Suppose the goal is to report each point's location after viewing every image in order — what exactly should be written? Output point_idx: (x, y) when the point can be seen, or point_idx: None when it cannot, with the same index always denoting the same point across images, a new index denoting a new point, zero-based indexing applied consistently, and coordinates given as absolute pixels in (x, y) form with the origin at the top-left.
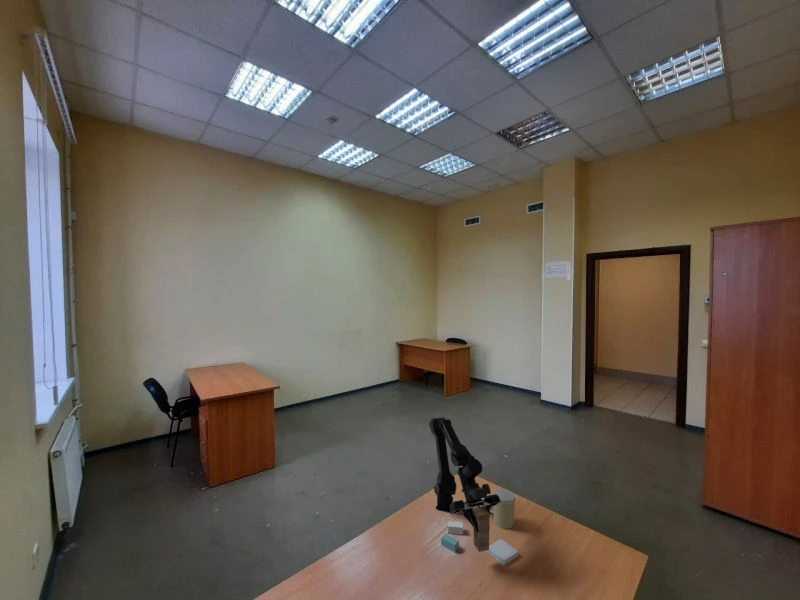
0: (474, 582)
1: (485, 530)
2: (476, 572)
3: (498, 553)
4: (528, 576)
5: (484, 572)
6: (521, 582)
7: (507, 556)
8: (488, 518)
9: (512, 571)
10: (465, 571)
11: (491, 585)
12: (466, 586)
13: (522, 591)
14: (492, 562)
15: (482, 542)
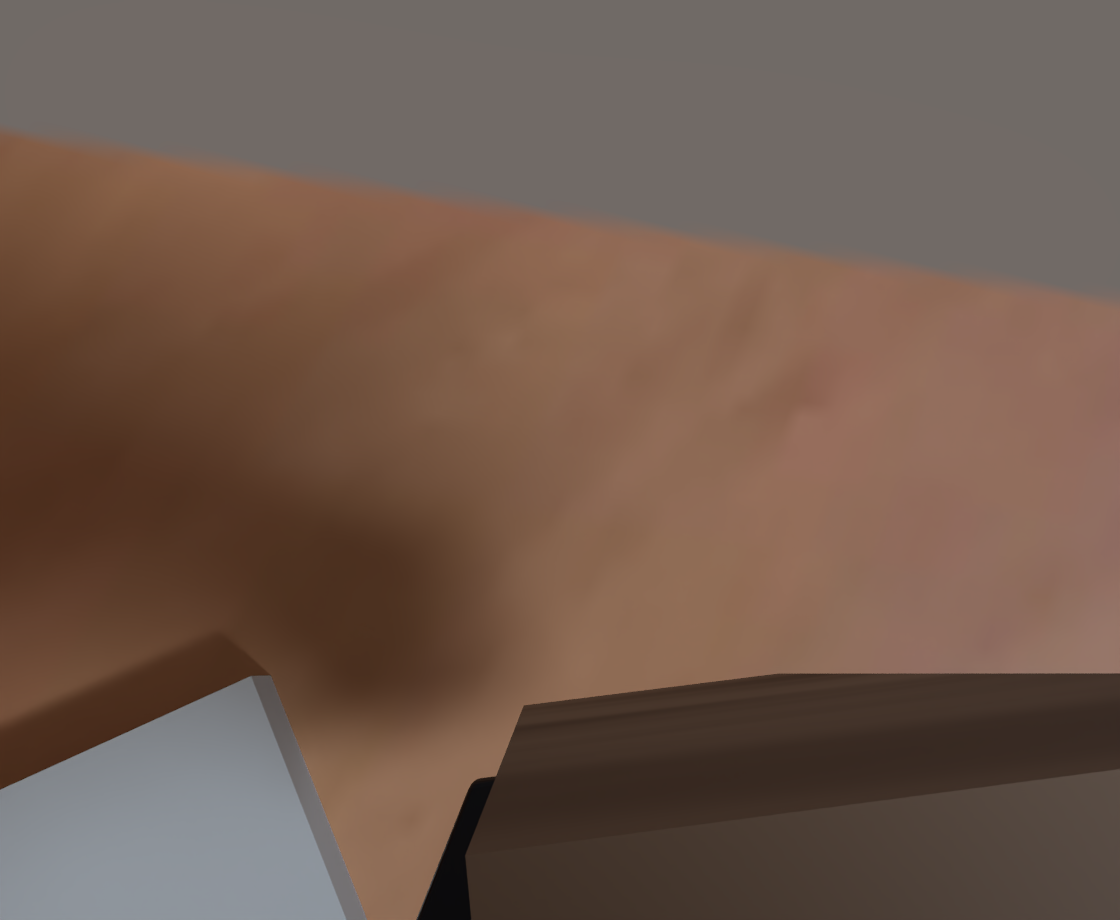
0: (870, 437)
1: (687, 710)
2: (780, 606)
3: (256, 875)
4: (8, 410)
5: (653, 586)
6: (180, 331)
7: (127, 770)
8: (561, 773)
9: (199, 536)
10: (949, 652)
11: (641, 352)
12: (1006, 391)
13: (253, 199)
14: (434, 766)
15: (731, 688)
